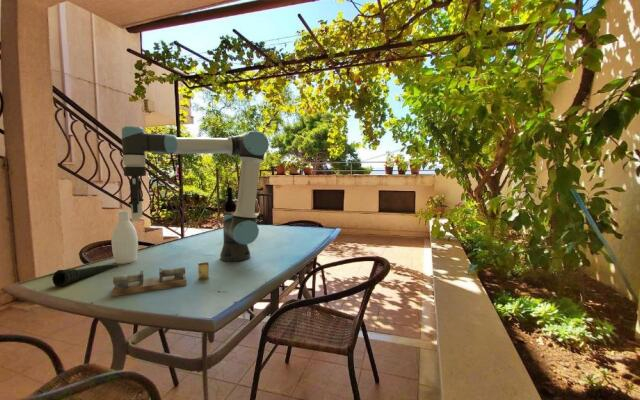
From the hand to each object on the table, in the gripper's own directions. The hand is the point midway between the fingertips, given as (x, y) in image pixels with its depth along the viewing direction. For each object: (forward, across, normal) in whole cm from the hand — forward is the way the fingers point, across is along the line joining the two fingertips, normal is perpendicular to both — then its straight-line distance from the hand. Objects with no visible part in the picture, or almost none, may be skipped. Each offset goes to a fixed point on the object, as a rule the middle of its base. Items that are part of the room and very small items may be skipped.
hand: (137, 219), depth 121 cm
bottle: (+25, -34, -8) cm, 43 cm away
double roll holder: (+25, +11, +4) cm, 28 cm away
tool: (+26, -16, -20) cm, 36 cm away
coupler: (+26, +10, +23) cm, 36 cm away
